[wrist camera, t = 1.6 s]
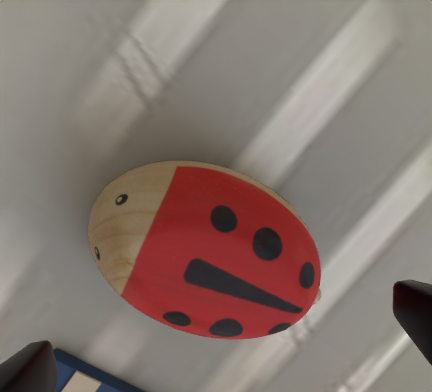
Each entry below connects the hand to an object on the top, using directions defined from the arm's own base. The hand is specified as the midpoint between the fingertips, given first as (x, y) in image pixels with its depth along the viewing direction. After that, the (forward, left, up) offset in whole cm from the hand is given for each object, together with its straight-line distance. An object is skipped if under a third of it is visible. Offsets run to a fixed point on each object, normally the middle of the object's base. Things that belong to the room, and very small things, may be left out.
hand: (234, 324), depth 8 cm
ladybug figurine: (0, 0, -6) cm, 6 cm away
